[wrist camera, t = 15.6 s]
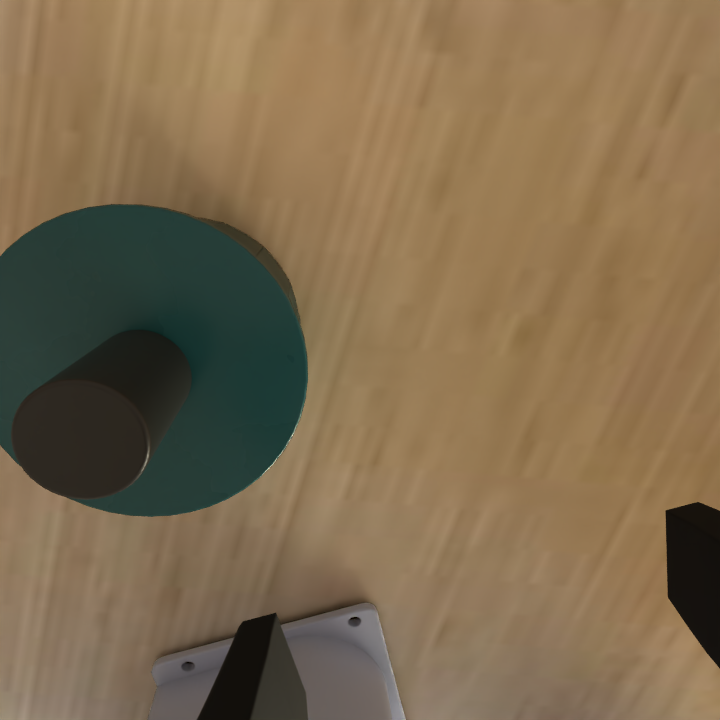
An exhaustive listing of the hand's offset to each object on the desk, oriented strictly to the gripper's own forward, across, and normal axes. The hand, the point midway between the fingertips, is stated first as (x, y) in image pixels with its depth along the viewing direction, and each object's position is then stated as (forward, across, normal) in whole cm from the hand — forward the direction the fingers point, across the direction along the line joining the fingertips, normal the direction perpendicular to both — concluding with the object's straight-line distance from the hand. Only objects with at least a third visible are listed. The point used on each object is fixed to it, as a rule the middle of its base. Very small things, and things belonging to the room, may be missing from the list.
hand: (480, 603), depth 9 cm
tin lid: (+5, +6, -4) cm, 9 cm away
